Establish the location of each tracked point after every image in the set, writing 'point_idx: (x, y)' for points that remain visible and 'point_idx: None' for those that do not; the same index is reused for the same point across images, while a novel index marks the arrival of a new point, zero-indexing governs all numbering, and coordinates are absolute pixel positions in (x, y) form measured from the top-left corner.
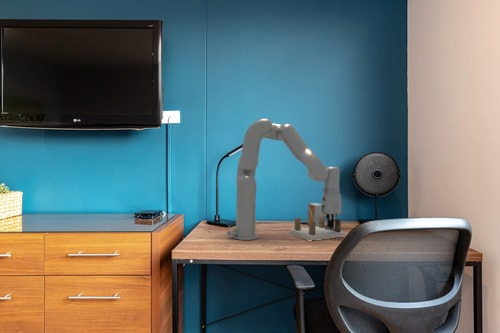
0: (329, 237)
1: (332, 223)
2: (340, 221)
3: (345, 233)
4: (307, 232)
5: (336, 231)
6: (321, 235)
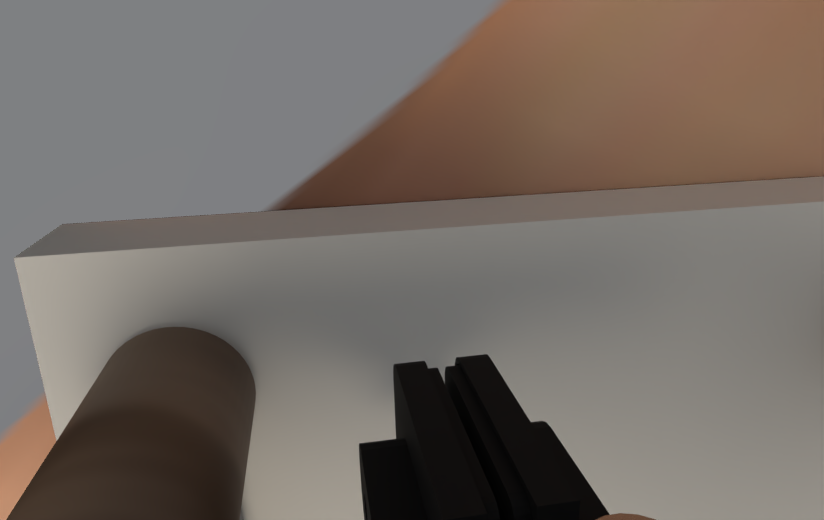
0: (534, 203)
1: (466, 439)
2: (43, 515)
3: (31, 247)
4: (819, 483)
5: (245, 361)
6: (773, 204)
